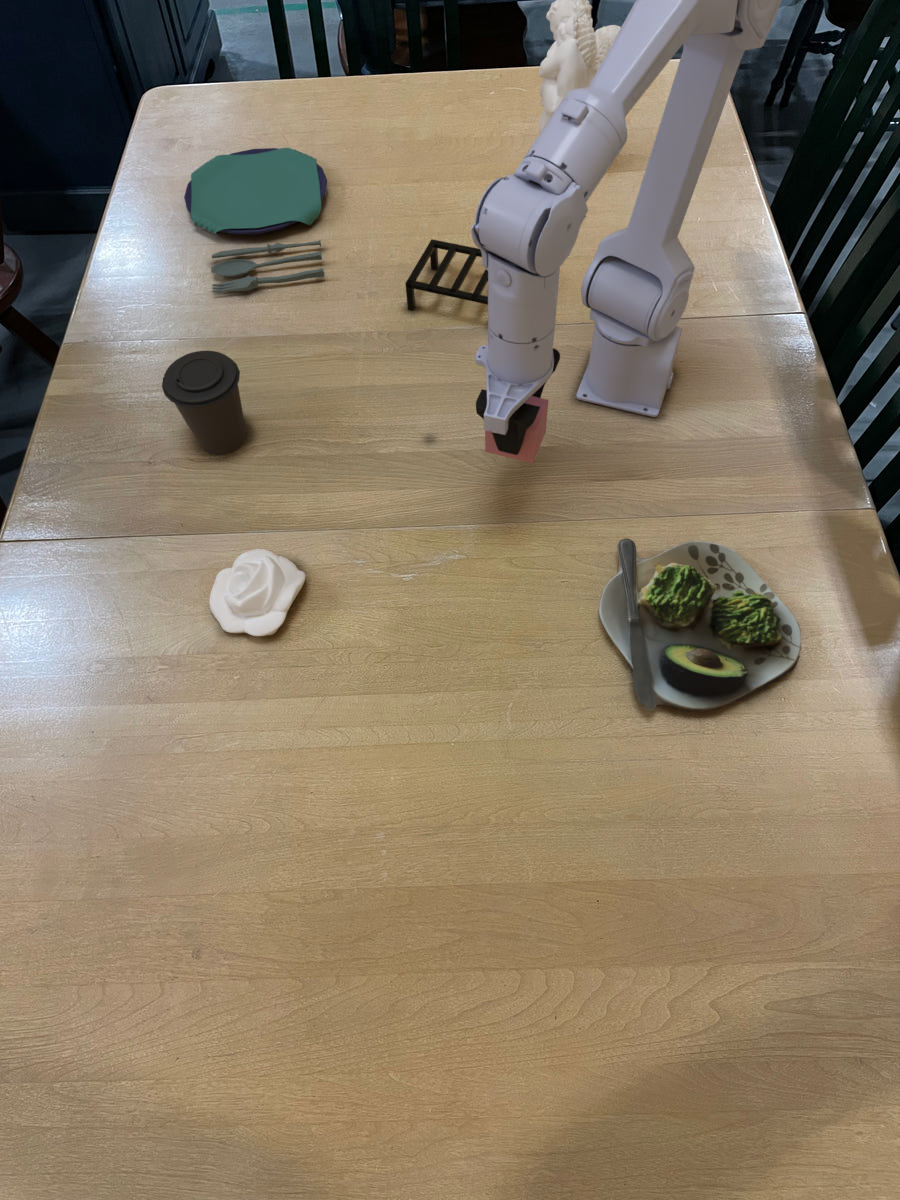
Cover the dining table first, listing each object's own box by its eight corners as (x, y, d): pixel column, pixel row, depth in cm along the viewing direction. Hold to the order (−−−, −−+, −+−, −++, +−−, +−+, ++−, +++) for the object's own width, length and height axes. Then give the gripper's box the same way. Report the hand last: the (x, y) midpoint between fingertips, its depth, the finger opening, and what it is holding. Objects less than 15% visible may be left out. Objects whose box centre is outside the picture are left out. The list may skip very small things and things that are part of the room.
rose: (316, 597, 79) (215, 635, 77) (323, 621, 83) (227, 658, 81) (284, 519, 84) (188, 553, 82) (292, 545, 87) (201, 578, 86)
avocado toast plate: (549, 580, 84) (553, 553, 80) (700, 514, 88) (710, 485, 84) (658, 743, 75) (668, 722, 71) (821, 662, 78) (839, 637, 75)
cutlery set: (324, 153, 125) (321, 137, 123) (341, 283, 109) (338, 267, 107) (188, 169, 124) (184, 153, 122) (186, 302, 108) (180, 287, 106)
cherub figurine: (537, 142, 125) (547, -31, 106) (622, 146, 124) (647, -28, 105) (529, 191, 118) (539, 16, 100) (619, 196, 117) (645, 20, 99)
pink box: (545, 431, 85) (548, 399, 82) (533, 463, 83) (535, 432, 79) (498, 420, 86) (499, 388, 83) (484, 451, 84) (484, 420, 80)
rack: (520, 284, 108) (522, 257, 105) (498, 330, 104) (499, 303, 100) (432, 266, 111) (431, 238, 107) (407, 310, 106) (405, 283, 103)
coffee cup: (173, 453, 95) (142, 387, 86) (210, 404, 99) (184, 335, 90) (236, 473, 93) (211, 407, 84) (271, 421, 97) (251, 354, 88)
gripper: (502, 259, 76) (500, 373, 88) (448, 368, 69) (453, 476, 81) (578, 274, 75) (566, 388, 87) (531, 387, 68) (524, 494, 80)
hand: (516, 431), depth 84 cm, fingers closed on pink box, 4 cm apart
